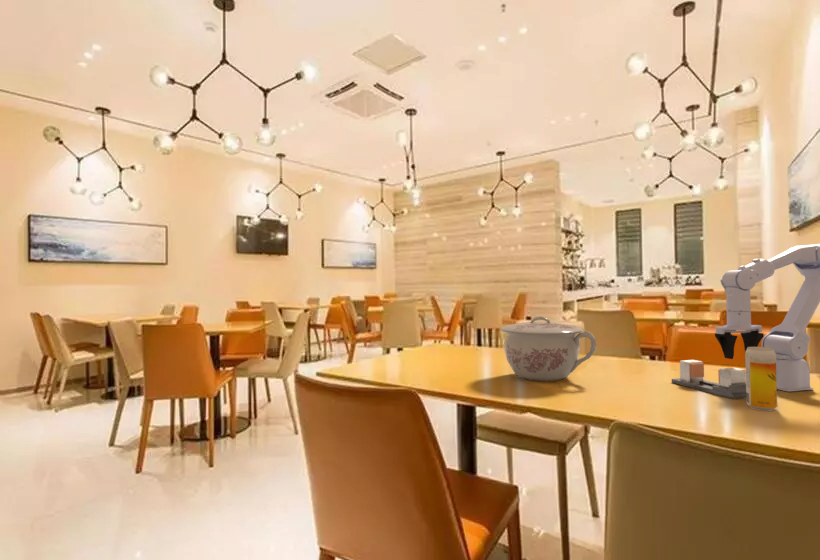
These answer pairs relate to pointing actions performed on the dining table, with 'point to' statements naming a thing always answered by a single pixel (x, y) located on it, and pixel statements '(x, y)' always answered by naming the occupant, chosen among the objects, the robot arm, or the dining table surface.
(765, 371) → the beer can
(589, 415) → the dining table surface
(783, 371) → the robot arm
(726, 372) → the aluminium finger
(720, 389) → the rail
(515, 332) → the chamber pot
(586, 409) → the dining table surface
